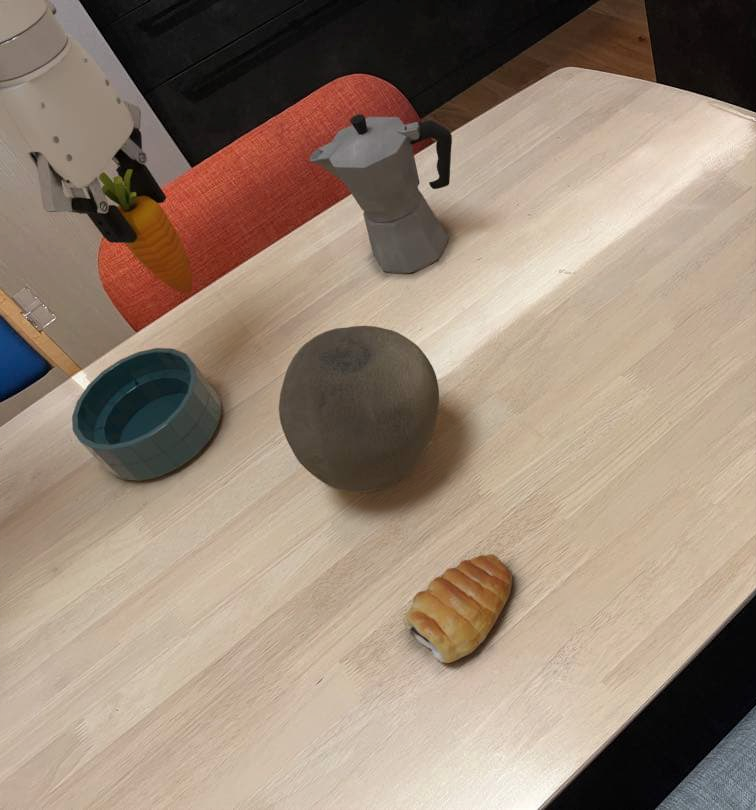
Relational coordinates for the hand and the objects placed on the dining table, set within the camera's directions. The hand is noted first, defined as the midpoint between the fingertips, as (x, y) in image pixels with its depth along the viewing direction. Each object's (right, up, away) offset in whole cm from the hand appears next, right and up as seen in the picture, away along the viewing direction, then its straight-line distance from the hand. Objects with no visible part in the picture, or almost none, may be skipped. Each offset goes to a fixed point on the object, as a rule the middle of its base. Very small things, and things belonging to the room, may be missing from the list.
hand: (137, 219), depth 87 cm
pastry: (+32, -35, -12) cm, 49 cm away
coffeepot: (+25, +1, +20) cm, 32 cm away
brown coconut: (+24, -23, +1) cm, 33 cm away
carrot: (+2, -6, +7) cm, 10 cm away
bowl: (-1, -21, +9) cm, 23 cm away
